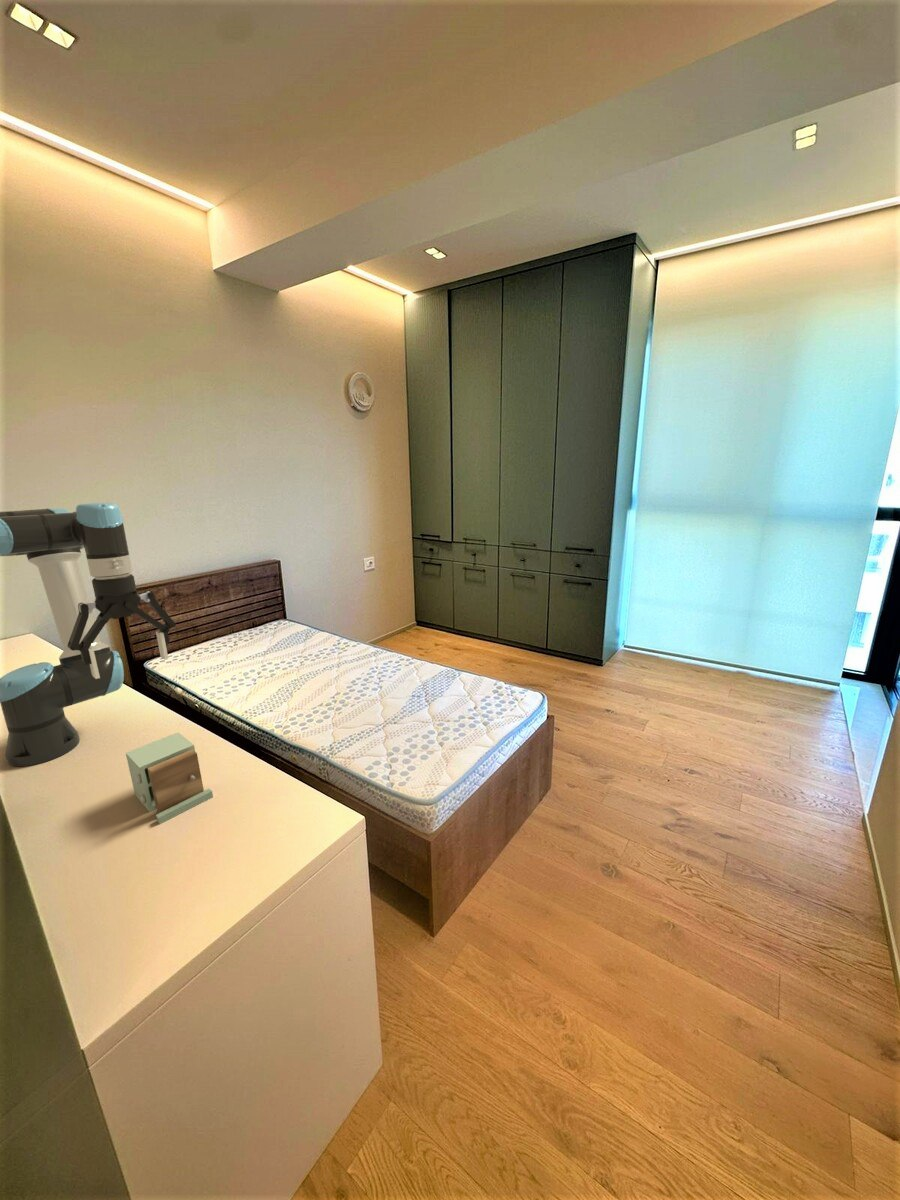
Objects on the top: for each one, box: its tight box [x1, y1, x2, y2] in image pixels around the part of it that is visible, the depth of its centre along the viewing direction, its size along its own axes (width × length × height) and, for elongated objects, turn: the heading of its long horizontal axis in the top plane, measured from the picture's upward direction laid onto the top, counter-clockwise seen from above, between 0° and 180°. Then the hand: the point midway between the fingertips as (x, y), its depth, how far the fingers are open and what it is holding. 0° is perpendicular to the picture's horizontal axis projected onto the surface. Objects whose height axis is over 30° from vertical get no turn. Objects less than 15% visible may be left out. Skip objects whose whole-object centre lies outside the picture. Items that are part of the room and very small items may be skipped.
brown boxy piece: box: [147, 750, 205, 814], centre depth 102 cm, size 4×9×11 cm, turn 140°
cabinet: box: [125, 731, 214, 825], centre depth 105 cm, size 15×12×11 cm
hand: (132, 667), depth 107 cm, fingers open, 13 cm apart
